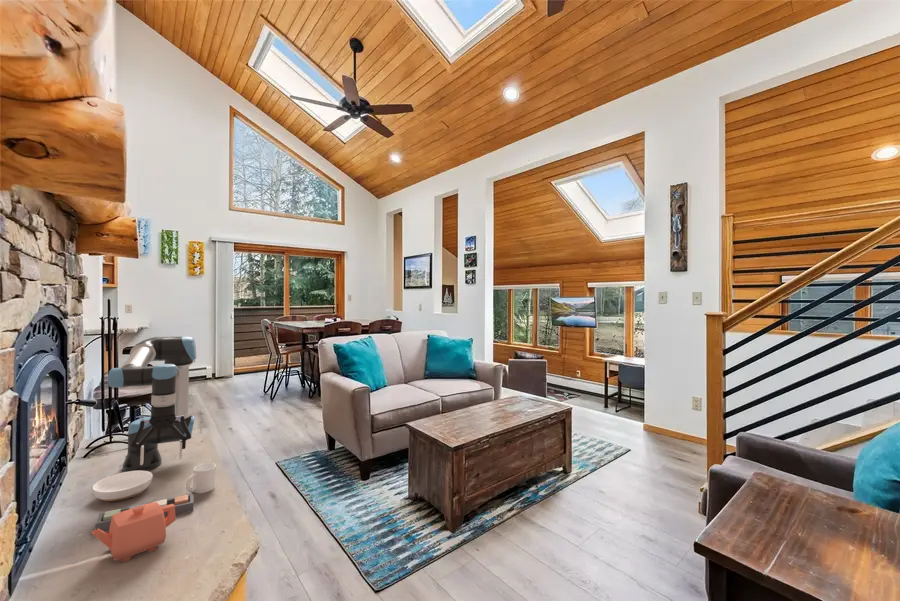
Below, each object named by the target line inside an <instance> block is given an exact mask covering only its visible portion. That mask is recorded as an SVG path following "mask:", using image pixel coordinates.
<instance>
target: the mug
mask: <svg viewBox="0 0 900 601" xmlns="http://www.w3.org/2000/svg"><path fill="white" fill-rule="evenodd" d="M216 470H217V465H216V464H215V463H212V462H207V463H201V464H198V465H196V466H195V467H193V472H192V474H191V475H190V476H188V478H187V480H186V482H185V489H186V491H187V492H189V493H192V492H193V494H205V493H208V492H211V491H213V490H214V489H215V487H216ZM191 481H192V488H191V486H190V485H191Z"/></svg>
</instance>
